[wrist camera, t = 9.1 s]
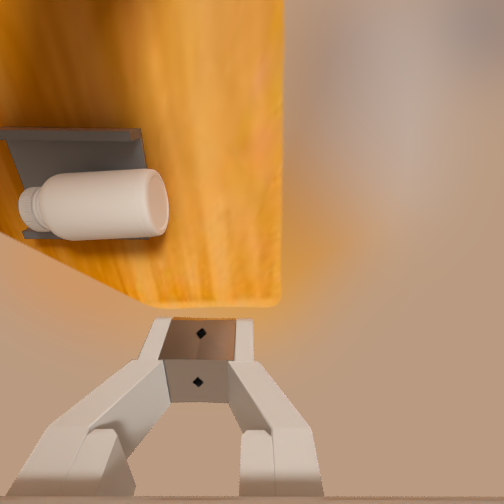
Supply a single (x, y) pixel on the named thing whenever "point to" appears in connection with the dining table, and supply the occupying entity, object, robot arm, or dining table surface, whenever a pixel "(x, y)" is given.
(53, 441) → the robot arm
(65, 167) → the u rest
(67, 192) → the pill bottle
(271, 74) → the dining table surface
